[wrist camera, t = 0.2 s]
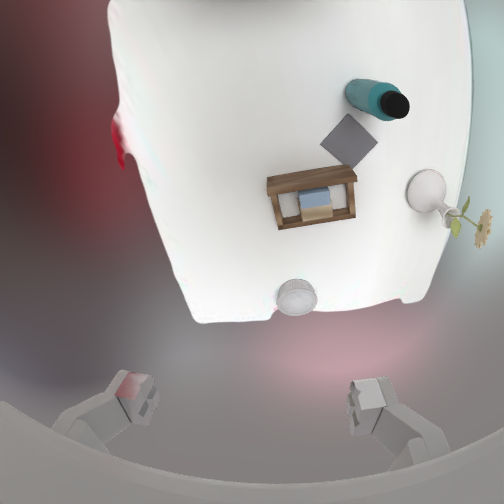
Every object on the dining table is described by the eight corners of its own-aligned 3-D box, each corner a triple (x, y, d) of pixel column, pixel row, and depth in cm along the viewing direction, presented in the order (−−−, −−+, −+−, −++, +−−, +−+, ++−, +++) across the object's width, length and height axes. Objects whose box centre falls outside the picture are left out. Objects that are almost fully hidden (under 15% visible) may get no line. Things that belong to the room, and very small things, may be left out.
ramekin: (321, 279, 76) (323, 293, 72) (308, 305, 83) (309, 318, 78) (282, 272, 75) (283, 286, 71) (272, 299, 82) (272, 312, 78)
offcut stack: (297, 197, 61) (298, 206, 57) (327, 192, 60) (331, 201, 56) (300, 212, 63) (301, 222, 60) (329, 207, 62) (333, 217, 58)
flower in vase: (426, 215, 60) (473, 282, 40) (396, 197, 58) (443, 265, 38) (452, 175, 52) (511, 232, 33) (423, 152, 50) (487, 206, 31)
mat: (348, 113, 48) (348, 114, 48) (377, 142, 51) (377, 142, 50) (320, 144, 53) (320, 144, 52) (350, 170, 56) (350, 170, 55)
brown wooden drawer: (267, 177, 58) (266, 190, 53) (348, 164, 55) (356, 176, 49) (278, 223, 65) (278, 240, 60) (352, 211, 62) (360, 227, 56)
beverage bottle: (342, 106, 47) (375, 126, 31) (342, 75, 43) (378, 80, 27) (372, 109, 47) (416, 132, 31) (373, 79, 43) (419, 88, 27)
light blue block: (295, 179, 58) (298, 195, 52) (322, 175, 57) (329, 190, 51) (298, 191, 60) (301, 209, 54) (324, 187, 59) (330, 204, 52)
